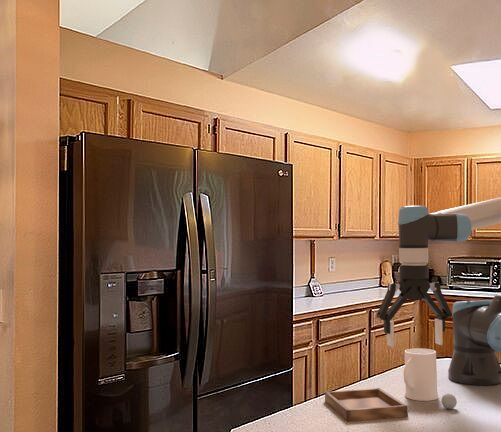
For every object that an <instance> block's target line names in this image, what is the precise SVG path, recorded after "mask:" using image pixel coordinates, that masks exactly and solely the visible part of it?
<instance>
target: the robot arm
mask: <svg viewBox="0 0 501 432" xmlns="http://www.w3.org/2000/svg"><path fill="white" fill-rule="evenodd" d="M499 224H501V196H500V197H496V198H491V199H488V200H487V199H486V200H482V201H479V202H478V201H477V202H473V203H470V204H466V205H461V206H457V207H453V208H448V209H443V210H439V211H437V212H435V211H434V212H431V213H429V209H428V207H427V206H426V205H406V206H401V207H400V208H399V210H398V219H397V225H398V262H399V263H400V265H399V266H398V267H399V268H398V269H399V271H398V272H399V273H398V278H399V283H394V282H388V284H387V291H386V292H385V296H384V297H383V299H382V301H381V304H380V306H379V308H378V310H377V313H376V318H377V319H380V320H382V321H383V334H386V346H388V347H390V348H394V347H395V322H394V321H392V319H393V318H394V316H395V315H396V314H397V313H398V311H400V309H401V308H402V306H403V305H404V304H405V303H406V302H407V301H408V300H409V301H414V300H418V301H421V300H422V301H424V303H426V304H425V305H427V306H428V307H429V309H430V310H431V311H432V312H433V314H434V315H435V317H437V318H434V343H435V344H436V345H438V346H443V344H444V343H443V342H444V341H443V332H445V331H446V320H448V318H451V317H452V330H453V331H452V332H453V333H452V334H453V353H452V357H451V359H450V363H449V368H448V370H447V372H448V374H447V375H448V379H449V380H450V381H453V382H454V383H460V384H464V385H472V386H492V385H498V384H501V364H500V361H499V358H498V356H497V353H500V354H501V293H497V294H495V295H494V297H493V298H492V299H483V300H465V301H464V300H462V301H455V302H454V303H453V304H452V311H451V309H450V307H449V305H448V302H447V300H446V299H445V296H444V295H443V292H442V287H441V283H440V282H439V281H432V282H431V283H430V282H429V278H430V277H429V275H430V274H429V270H430V267H429V265H427V264H428V263H429V242H431V243H432V242H455V243H458V242H464V241H468V239H469V238H470V236H471V235H472V234H471V233H472V231H475V230H478V229H483V228H487V227H491V226H496V225H499ZM398 290H399V291H400V293H399V294H398V295H397V298H396V299H395V301H394V302H393V303H392V301H393V299H394V297H395V294H396V292H398ZM429 290H431V292H432V293H433V295H434V297H435V299H436V302H437V303H436V302H435V301H434V300H433V298H432V297H431V296H430V294H429V293H428V292H429ZM437 304H438V305H439V306H438V305H437Z"/></svg>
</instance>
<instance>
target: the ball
mask: <svg viewBox="0 0 501 432" xmlns="http://www.w3.org/2000/svg"><path fill="white" fill-rule="evenodd" d="M457 402H458V401H457V398H456V396H455V395H454V394H451V393H445V394H444V395H442V397H441V404H442V406H443V407H444V408H445V409H447V410H452V409H454V408H455V407H456V406H457Z"/></svg>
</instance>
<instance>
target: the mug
mask: <svg viewBox="0 0 501 432" xmlns="http://www.w3.org/2000/svg"><path fill="white" fill-rule="evenodd" d="M437 371H438V370H437V351H436V350H434V349H430V348H421V347H420V348H418V347H417V348H408V349H405V350H404V369H403V381H404V384H405V389H404V390H405V391H404V397H405V398H406V399H408V400H411V401H416V402H417V401H419V402H429V401H431V402H432V401H436V400H437V399H439V394H438V393H439V392H438V378H437V377H438V372H437Z"/></svg>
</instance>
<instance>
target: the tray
mask: <svg viewBox="0 0 501 432" xmlns="http://www.w3.org/2000/svg"><path fill="white" fill-rule="evenodd" d="M324 402H325V403H326V405H328V406H329V407H331V409H333V410H334V411H335V412H336V413H337V414H338V415H340V417H342V418H343V419H344V420H345V421H346V422H355V421H356V422H358V421H369V420H370V421H371V420H379V419H380V420H381V419H394V418H405V417H406V418H407V417H409V413H408V412H409V409H408V408H409V407H408V405H407V404H405V403H404V402H402V401H400V400H399V399H398V398H396V397H394V396H393V395H391V394H390V393H388V392H386V391H385V390H383V389H381V388H380V387H377V388H362V389H350V390H347V389H346V390H335V391H324Z"/></svg>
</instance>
